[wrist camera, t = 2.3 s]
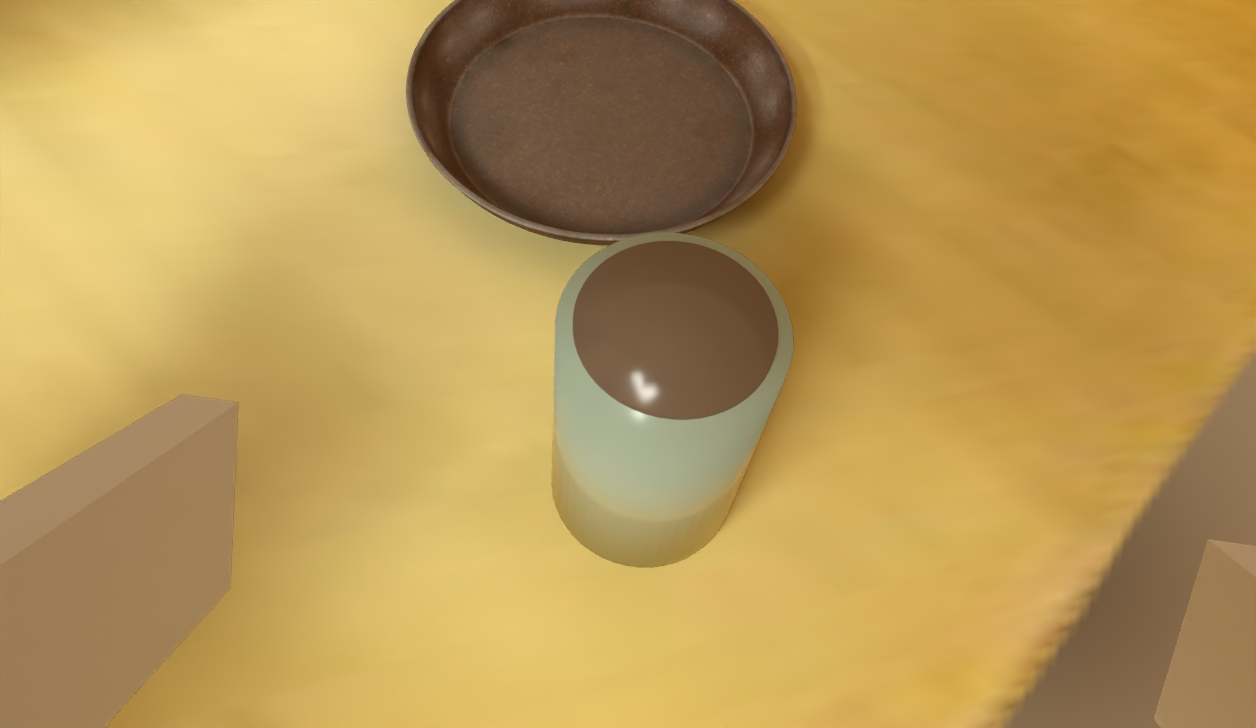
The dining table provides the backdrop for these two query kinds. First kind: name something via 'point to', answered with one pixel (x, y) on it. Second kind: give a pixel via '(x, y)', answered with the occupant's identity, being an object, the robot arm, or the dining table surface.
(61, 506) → the robot arm
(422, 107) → the plant saucer
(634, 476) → the pale green cup
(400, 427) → the dining table surface
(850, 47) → the dining table surface
